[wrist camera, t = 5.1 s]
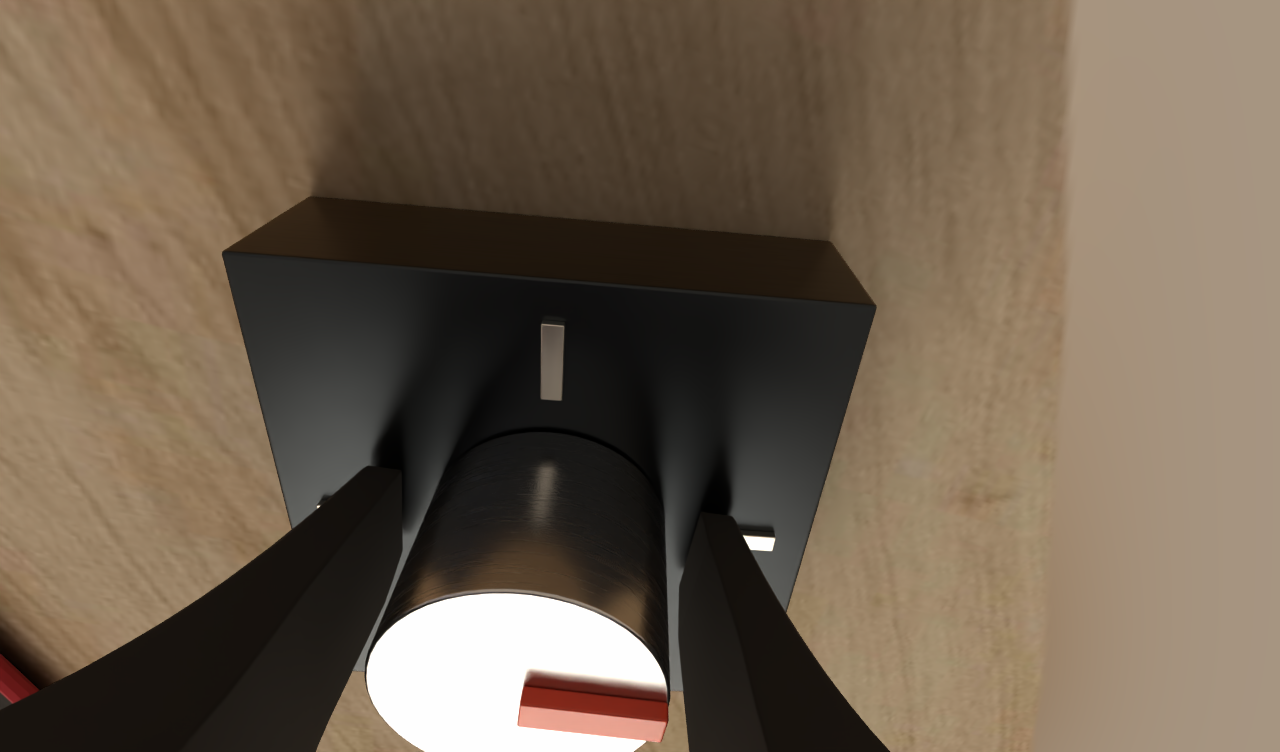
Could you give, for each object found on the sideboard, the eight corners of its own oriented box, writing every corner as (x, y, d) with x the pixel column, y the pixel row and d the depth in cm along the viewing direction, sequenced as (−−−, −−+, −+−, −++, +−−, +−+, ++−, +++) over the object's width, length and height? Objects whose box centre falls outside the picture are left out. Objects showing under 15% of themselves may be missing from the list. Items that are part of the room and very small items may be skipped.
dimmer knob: (431, 588, 13) (361, 782, 10) (434, 412, 11) (346, 590, 8) (643, 615, 14) (641, 811, 11) (686, 450, 12) (702, 634, 8)
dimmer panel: (308, 195, 12) (213, 255, 10) (832, 241, 13) (881, 310, 10) (373, 569, 18) (323, 676, 15) (745, 594, 18) (762, 704, 15)
